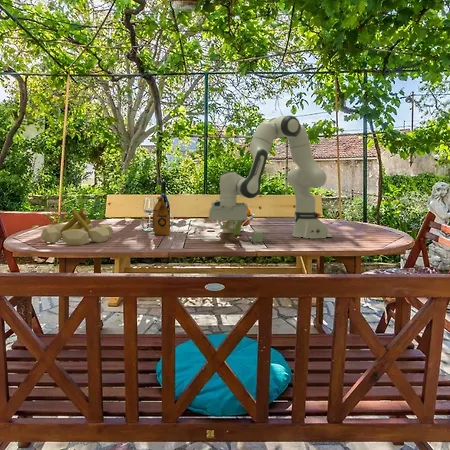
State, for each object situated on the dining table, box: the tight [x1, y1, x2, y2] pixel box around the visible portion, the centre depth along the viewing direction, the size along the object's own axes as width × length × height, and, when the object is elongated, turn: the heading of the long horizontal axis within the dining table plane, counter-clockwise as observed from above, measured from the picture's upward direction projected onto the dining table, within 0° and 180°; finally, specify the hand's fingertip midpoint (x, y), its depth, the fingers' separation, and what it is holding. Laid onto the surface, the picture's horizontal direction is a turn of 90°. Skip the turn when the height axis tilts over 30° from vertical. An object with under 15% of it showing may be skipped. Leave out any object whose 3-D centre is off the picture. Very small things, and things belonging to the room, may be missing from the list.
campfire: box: [40, 207, 114, 246], centre depth 215 cm, size 35×34×17 cm
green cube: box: [251, 230, 264, 243], centre depth 218 cm, size 5×5×5 cm
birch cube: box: [222, 221, 233, 233], centre depth 216 cm, size 5×5×5 cm
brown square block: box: [220, 232, 236, 243], centre depth 216 cm, size 7×7×4 cm
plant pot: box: [226, 220, 244, 236], centre depth 238 cm, size 9×9×9 cm
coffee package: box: [152, 196, 171, 236], centre depth 238 cm, size 10×12×22 cm
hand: (227, 228), depth 216 cm, fingers closed on birch cube, 5 cm apart
